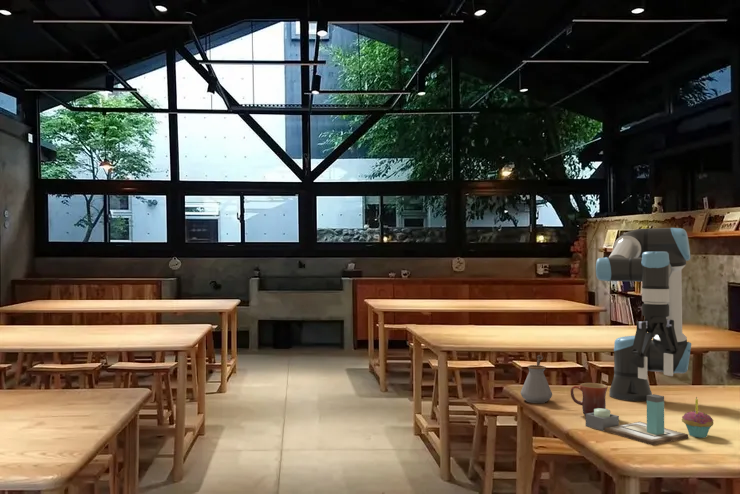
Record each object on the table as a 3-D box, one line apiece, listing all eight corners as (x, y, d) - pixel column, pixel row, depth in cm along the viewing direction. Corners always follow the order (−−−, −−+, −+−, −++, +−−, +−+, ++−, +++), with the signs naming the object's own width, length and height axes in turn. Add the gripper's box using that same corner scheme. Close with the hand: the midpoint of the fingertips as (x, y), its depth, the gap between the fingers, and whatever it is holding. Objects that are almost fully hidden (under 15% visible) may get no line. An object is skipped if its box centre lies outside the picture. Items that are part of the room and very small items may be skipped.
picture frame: (640, 424, 209) (640, 420, 209) (688, 437, 194) (688, 433, 194) (604, 431, 201) (604, 426, 201) (651, 445, 186) (651, 440, 186)
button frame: (601, 423, 211) (601, 411, 211) (618, 428, 204) (618, 416, 204) (585, 425, 207) (585, 413, 207) (603, 431, 201) (603, 418, 201)
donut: (712, 441, 191) (711, 399, 191) (680, 436, 195) (680, 396, 195) (714, 434, 198) (714, 394, 198) (683, 430, 202) (683, 391, 203)
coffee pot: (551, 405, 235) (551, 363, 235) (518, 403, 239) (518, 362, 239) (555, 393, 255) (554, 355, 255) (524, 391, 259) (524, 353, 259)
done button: (601, 418, 209) (601, 407, 209) (613, 422, 205) (613, 410, 205) (590, 420, 207) (590, 409, 207) (602, 423, 203) (602, 412, 203)
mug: (609, 414, 222) (609, 384, 222) (605, 420, 214) (605, 389, 214) (573, 410, 228) (573, 381, 228) (568, 416, 220) (568, 385, 220)
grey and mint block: (654, 430, 197) (654, 394, 197) (664, 433, 194) (664, 396, 194) (646, 432, 195) (646, 395, 195) (656, 435, 192) (656, 397, 192)
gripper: (670, 301, 204) (670, 371, 203) (618, 303, 193) (618, 378, 192) (691, 302, 197) (692, 375, 197) (639, 305, 186) (639, 382, 186)
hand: (655, 377), depth 194 cm, fingers open, 11 cm apart
